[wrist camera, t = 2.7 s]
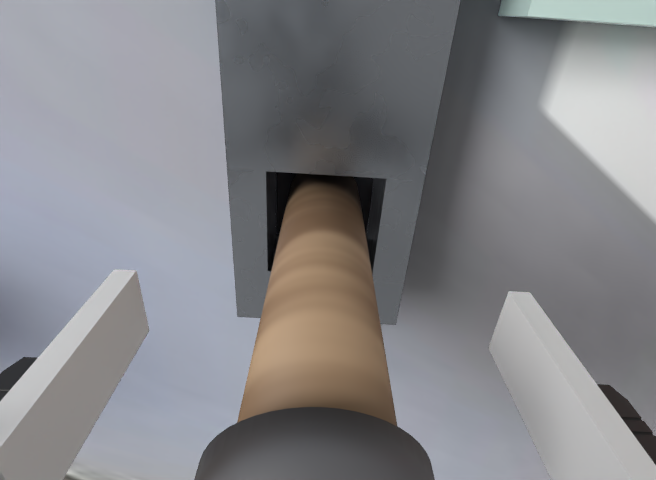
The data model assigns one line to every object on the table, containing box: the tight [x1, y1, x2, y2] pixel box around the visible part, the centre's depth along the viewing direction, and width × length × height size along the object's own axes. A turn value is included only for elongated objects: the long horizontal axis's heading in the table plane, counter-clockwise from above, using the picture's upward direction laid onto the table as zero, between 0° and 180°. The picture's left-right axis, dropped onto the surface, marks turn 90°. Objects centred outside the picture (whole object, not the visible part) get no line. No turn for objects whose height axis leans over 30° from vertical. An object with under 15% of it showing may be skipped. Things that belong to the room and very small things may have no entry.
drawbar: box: [215, 0, 461, 325], centre depth 18 cm, size 24×9×4 cm, turn 176°
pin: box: [194, 173, 435, 480], centre depth 15 cm, size 5×5×18 cm
